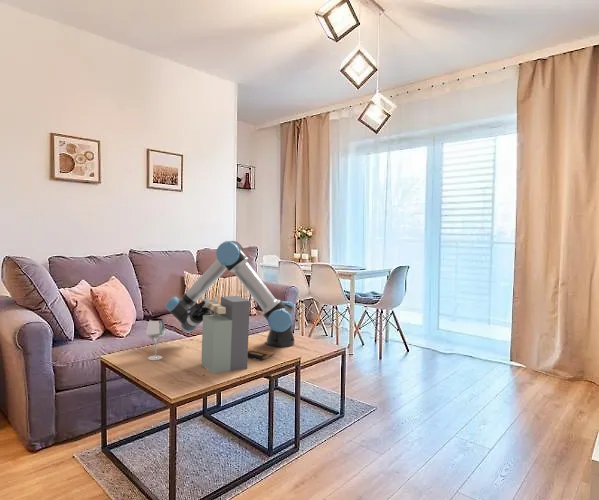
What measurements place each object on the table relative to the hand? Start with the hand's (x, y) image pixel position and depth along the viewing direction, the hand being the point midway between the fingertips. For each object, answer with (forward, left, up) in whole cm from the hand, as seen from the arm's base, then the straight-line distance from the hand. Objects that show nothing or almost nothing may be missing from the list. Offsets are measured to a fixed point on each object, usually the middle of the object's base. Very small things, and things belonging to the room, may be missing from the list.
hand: (212, 299), depth 181 cm
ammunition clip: (-20, -1, -28) cm, 34 cm away
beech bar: (0, +2, -4) cm, 4 cm away
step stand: (-5, +6, -29) cm, 30 cm away
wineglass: (+23, -13, -29) cm, 39 cm away
